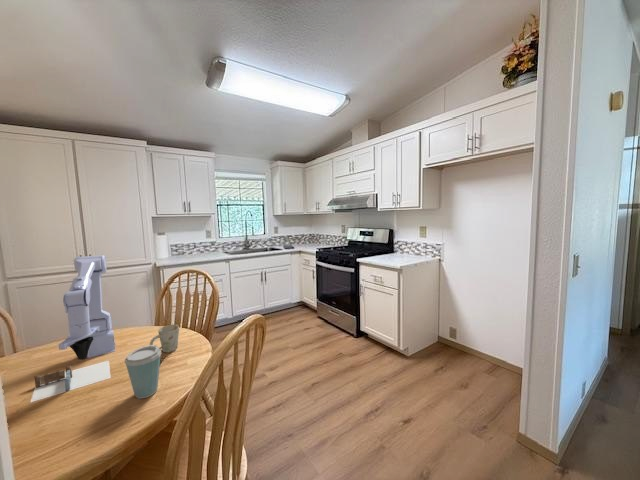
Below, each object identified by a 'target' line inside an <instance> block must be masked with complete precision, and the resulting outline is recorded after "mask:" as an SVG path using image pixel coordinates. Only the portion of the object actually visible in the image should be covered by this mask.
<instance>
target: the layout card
mask: <svg viewBox="0 0 640 480" xmlns="http://www.w3.org/2000/svg"><path fill="white" fill-rule="evenodd" d="M64 372H65V378H64V379H60V381H59V382H57V381H53V382H49V384H48V385H45V384H42V385H40V387H38V388H36V387H34V390H33V392H32V395H31V399H30V404H31V403H33V402H37V401H40V400H42V399H46V398H49V397H54V396H57V395H60V394H62V393H63V394H64V393H66V392H69V391H72V390H76V389H79V388H83V387H86V386H89V385H92V384H96V383H99V382H102V381H106V380H109V379H111V377H112V376H111V367H110V360H105V361H102V362H97V363H95V364H91V365H87V366H83V367H80V368H76V369H73V370H72V378H71V381H70V389H69V390H66V389H65V380H66V371H64Z"/></svg>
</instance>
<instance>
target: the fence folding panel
mask: <svg viewBox="0 0 640 480" xmlns="http://www.w3.org/2000/svg"><path fill="white" fill-rule="evenodd" d="M65 372H66V371H65ZM70 381H71V377H70V370H67V372H66V380H65V389H66V390H69V389H70Z"/></svg>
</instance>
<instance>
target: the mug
mask: <svg viewBox="0 0 640 480" xmlns="http://www.w3.org/2000/svg"><path fill="white" fill-rule="evenodd" d="M157 331H158V335H156V336H154V337H152V338H151V340H150V342H149V345H154V342H155V340H157V339H159V341H160V345H161V346H159V349H160V350H161V352H163V353H171V352H175V351H176V350H177V349H178V347H179V346H178V345H179V334H180V325H178V324H168V325H167V324H166V325H164V326H162V327H159V329H158V330H157Z"/></svg>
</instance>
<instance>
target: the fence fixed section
mask: <svg viewBox="0 0 640 480" xmlns="http://www.w3.org/2000/svg"><path fill="white" fill-rule="evenodd" d="M67 370H70V377H71V378H72V365H68V366H66V367H65V369H61V370H56V371H53V372H51V373H44V374H43V375H39V374H38V375H35V376H34V385H35V387H36V388H38V387H40V385H42V384H45V385H48V384H49V382H53V381H57V382H59V381H60V379H64V378H65V372H67ZM35 387H34V388H35Z"/></svg>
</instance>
